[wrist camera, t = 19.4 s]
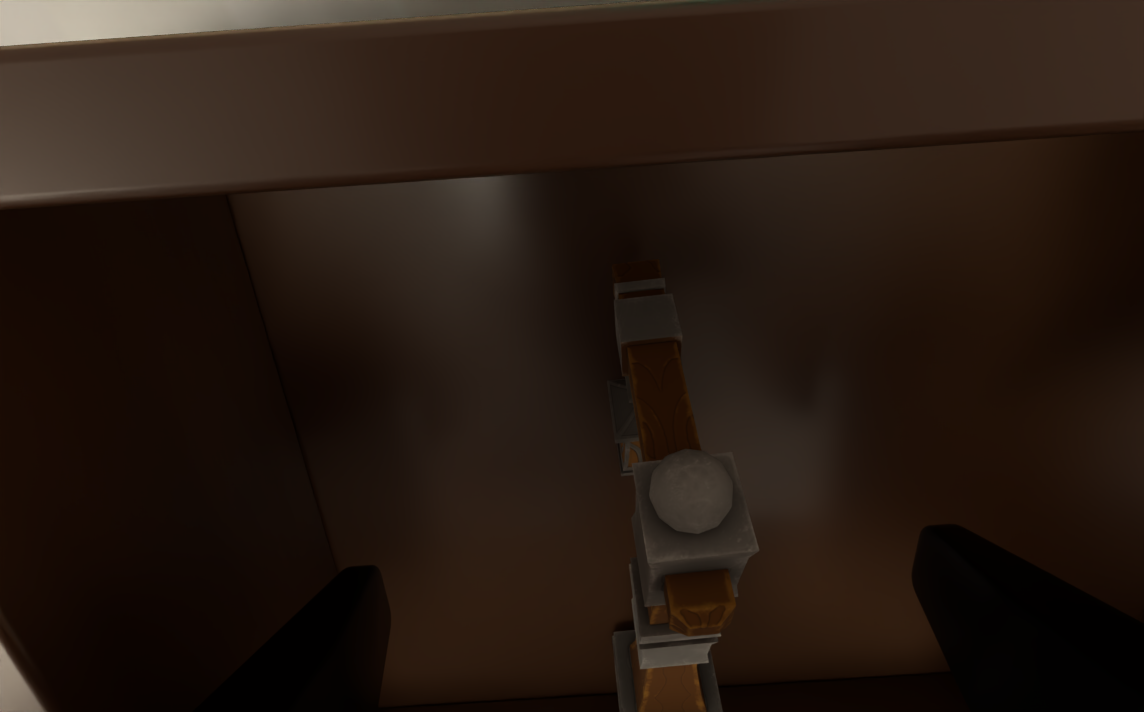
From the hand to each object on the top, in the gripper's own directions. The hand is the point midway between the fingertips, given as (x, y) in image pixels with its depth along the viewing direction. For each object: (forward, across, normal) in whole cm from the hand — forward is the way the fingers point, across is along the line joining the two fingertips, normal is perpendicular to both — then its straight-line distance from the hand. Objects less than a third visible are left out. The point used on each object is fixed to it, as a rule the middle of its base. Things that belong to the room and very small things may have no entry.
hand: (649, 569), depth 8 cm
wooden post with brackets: (+2, 0, 0) cm, 2 cm away
